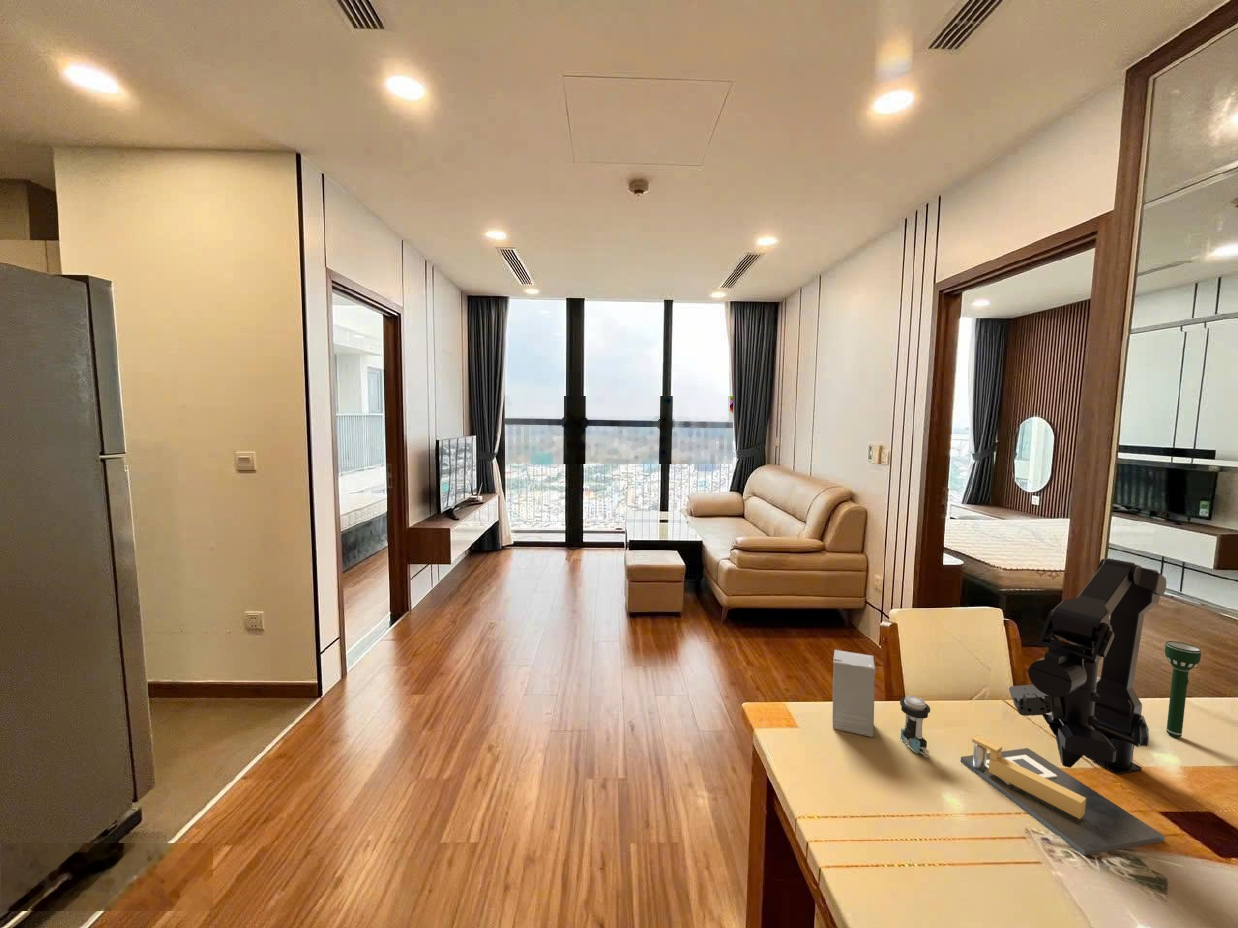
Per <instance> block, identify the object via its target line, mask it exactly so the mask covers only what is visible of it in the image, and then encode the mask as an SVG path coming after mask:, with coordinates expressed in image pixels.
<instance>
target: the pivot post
mask: <svg viewBox="0 0 1238 928" xmlns="http://www.w3.org/2000/svg"><path fill="white" fill-rule="evenodd" d="M987 753H988V749H986V748H984V747H982V746H980V745H978V744H976V743H974V742H973V753H972V755H973V766H974V767H975V768H977V769H979V770H985V768H986V754H987Z"/></svg>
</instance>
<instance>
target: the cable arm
mask: <svg viewBox="0 0 1238 928" xmlns="http://www.w3.org/2000/svg"><path fill="white" fill-rule="evenodd" d="M971 742H972V743H973V744H974V743H976V744H978V745H980V746H982V747H984V748H986V749H987V751H989V753H990V760H989V772H990V773H992V774H994V775H996V776H998V777H1000V778H1002V779H1003V780H1005V781H1007V782H1009V783H1011V784H1013V785H1015V786H1017V787H1019V788H1021V789H1023V790H1025V791H1027V792H1029V793H1030V794H1032V795H1034V796H1036V797H1038V798H1040V799H1042V800H1044V801H1046V802H1048V803H1050V804H1052V805H1054V806H1056V807H1057V808H1059V809H1061V810H1063V811H1065V812H1067V813H1069V814H1071V815H1073V816H1075V817H1077V818H1079V819H1081V817H1082V816H1083V815H1084V814H1085V805H1086V798H1085V797H1083V796H1081V795H1079V794H1077V793H1075V792H1073V791H1071V790H1069V789H1067V788H1065V787H1062V786H1060V785H1058V784H1056V783H1054V782H1052V781H1050V780H1048V779H1046V778H1044V777H1042V776H1040V775H1038V774H1036V773H1034V772H1032V771H1030V770H1028V769H1025V768H1023V767H1021V766H1019V765H1017V764H1015V763H1013V762H1011V761H1009V760H1007V759H1005V758H1003V757H1001V754H1002V751H1003V746H1001V745H1000V744H998V743H996V742H993V741H991V740H989V739H987V738H985V737H983V736H980V735H976V736H974V737H972V738H971Z"/></svg>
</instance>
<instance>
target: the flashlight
mask: <svg viewBox="0 0 1238 928" xmlns="http://www.w3.org/2000/svg"><path fill="white" fill-rule="evenodd" d="M1164 654H1165V657H1166V659H1167V661H1168V663H1169V664H1171V665H1170V666H1172V673H1171V683H1170V695H1169V703H1168V713H1167V722H1166V733H1167V735H1169V736H1171V737H1173V738H1177V737H1179V738H1182V736H1183V735H1182V734H1183V727H1184V726H1183V725H1184V719H1185V718H1184V717H1185V716H1184V715H1185V707H1186V697H1187V691H1188V689H1187V688H1188V684H1189V682H1190V681H1189V671H1191V670H1192V669H1194V668H1196V667H1197V666H1198V664H1200V662H1201V658H1202V650H1201V648H1199V647H1198V646H1195V645H1193V644H1189V643H1185V642H1181V641H1176V640H1175V641H1173V640H1168V641H1166V642H1165V645H1164Z"/></svg>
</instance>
